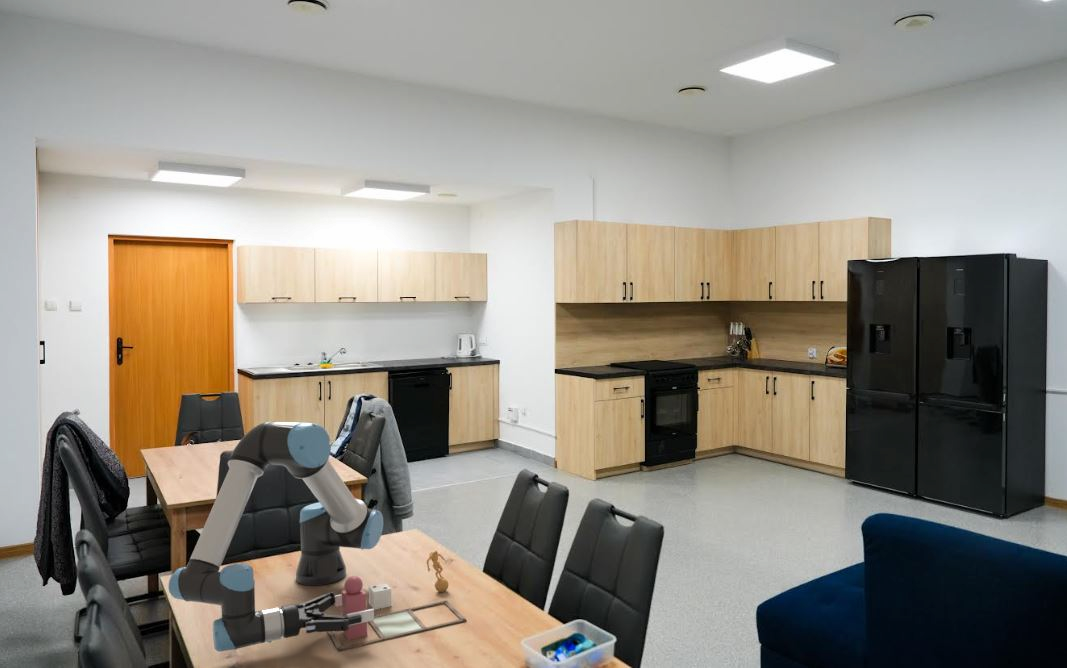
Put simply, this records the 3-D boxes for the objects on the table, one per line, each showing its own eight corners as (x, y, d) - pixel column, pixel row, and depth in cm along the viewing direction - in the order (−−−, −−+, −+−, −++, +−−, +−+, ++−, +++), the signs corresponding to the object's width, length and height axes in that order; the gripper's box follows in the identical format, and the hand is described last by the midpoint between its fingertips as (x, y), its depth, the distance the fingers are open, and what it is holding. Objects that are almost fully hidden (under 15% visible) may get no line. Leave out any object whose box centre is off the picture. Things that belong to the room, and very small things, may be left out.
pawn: (343, 632, 193) (341, 575, 192) (362, 628, 195) (360, 571, 195) (347, 640, 189) (345, 581, 188) (367, 635, 191) (365, 577, 190)
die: (369, 603, 211) (368, 586, 211) (386, 600, 214) (385, 582, 214) (374, 609, 207) (373, 592, 207) (391, 606, 209) (391, 588, 209)
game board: (325, 628, 196) (325, 626, 196) (446, 601, 212) (446, 600, 212) (338, 651, 183) (338, 649, 183) (466, 621, 198) (466, 619, 198)
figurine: (438, 597, 215) (437, 557, 214) (422, 594, 218) (421, 553, 217) (455, 588, 222) (454, 548, 221) (439, 584, 225) (438, 545, 224)
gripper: (274, 619, 195) (354, 602, 204) (290, 658, 173) (380, 637, 182) (273, 590, 194) (354, 575, 204) (289, 626, 172) (379, 607, 182)
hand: (366, 604), depth 193 cm, fingers open, 13 cm apart
